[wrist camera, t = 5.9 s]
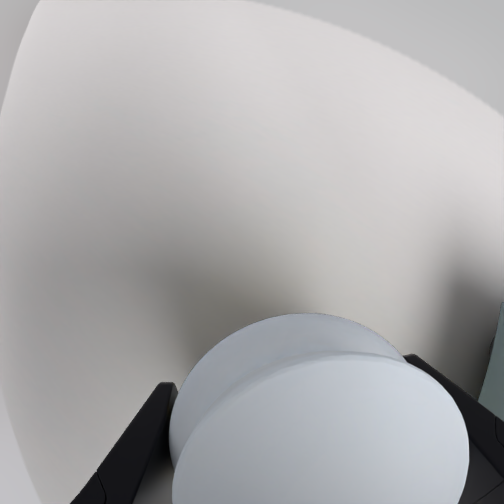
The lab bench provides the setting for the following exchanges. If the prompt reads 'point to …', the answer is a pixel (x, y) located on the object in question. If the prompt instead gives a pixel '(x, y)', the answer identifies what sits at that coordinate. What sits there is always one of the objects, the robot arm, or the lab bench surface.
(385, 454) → the pill bottle
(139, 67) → the lab bench surface
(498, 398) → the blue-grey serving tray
